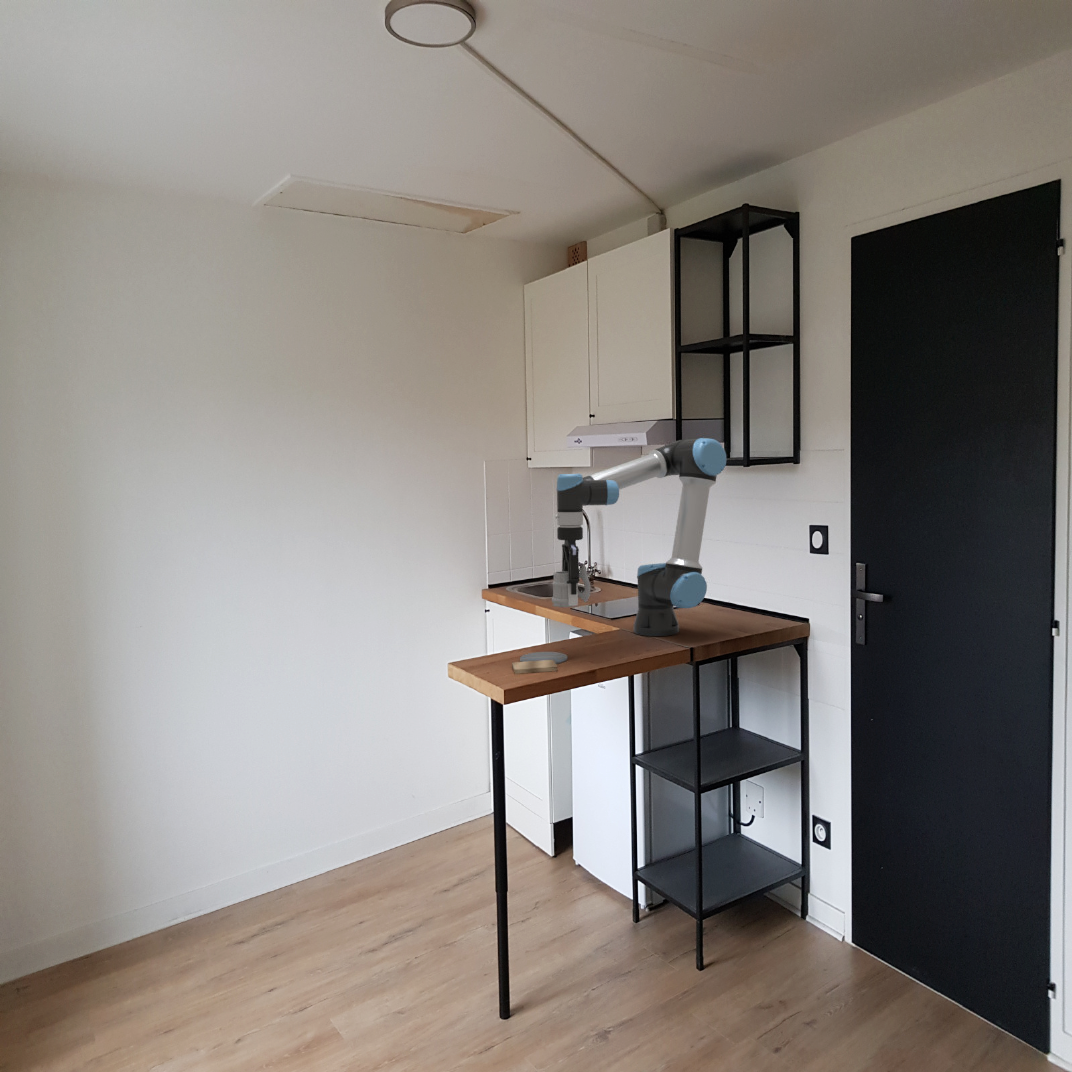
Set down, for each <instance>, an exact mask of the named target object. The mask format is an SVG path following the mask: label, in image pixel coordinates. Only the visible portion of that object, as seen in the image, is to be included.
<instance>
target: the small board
mask: <svg viewBox="0 0 1072 1072" xmlns="http://www.w3.org/2000/svg"><path fill="white" fill-rule="evenodd" d="M511 668H512V670H513V673H514V675H515V674H516V675H517V674H519V675H520V674H530V673H531V674H532V673H544V672H545V673H546V672H548V673H549V672H558V671H559V670H558V669H559V668H558V665H557V664H556V663H555V662H554V660H542V661H527V662H521V661H514V662H511Z"/></svg>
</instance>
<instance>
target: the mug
mask: <svg viewBox="0 0 1072 1072" xmlns="http://www.w3.org/2000/svg"><path fill="white" fill-rule="evenodd" d="M579 579H580V580H581V581H582V582H583V584H584V590H583V591H582V592H581V591H578V599H581V600H582V601H583V602H584V603H587V602H588V600H589V598H591V597H590V596H591V589H592V585H591V583H590V579H589V576H588V573H587V570H586V565H583V566H581V568H579ZM567 581H569V573H568V572H567V571H562V570H559V571H558V570H557V571H555V572H554V573H553V581H552V586H553V589H552V590H553V591H552V597H551V603H552V606H553V607H555V608H573V607H575V606H569V605H568V584H567Z"/></svg>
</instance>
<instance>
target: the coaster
mask: <svg viewBox="0 0 1072 1072" xmlns="http://www.w3.org/2000/svg"><path fill="white" fill-rule="evenodd" d="M542 660H554V662H555V663H556V665H557V664H562V663H565V662H566V661H567V660H568V655H567V654H566V653H562V652H558V651H536V652H529V653H526V654H522V655H521V656H520V657H519V662H527V661H542Z"/></svg>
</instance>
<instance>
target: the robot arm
mask: <svg viewBox="0 0 1072 1072" xmlns="http://www.w3.org/2000/svg"><path fill="white" fill-rule="evenodd" d="M726 465H727V453H726V450H725V448H724V447H723V446H722V444H721V442H719V441H718V440H716V439H714V438H707V437H700V438H692V439H691V438H689V439H679V440H676V441H673V442H670V443H668V444H665V445H663V446H661V447H658V448H656V449H652V450H650V451H649V453H648V454H647V455H644V456H642V457H639V458H636V459H633V460H630V461H627V462H624V463H621V464H619V465H615V466H612V467H609V468H606V469H603V470H601V471H598V472H595V473H592V474H589V475H587V476H583V475H582V474H581V473H561V474H558V475H557V478H556V479H557V481H556V510H557V511H556V515H555V516H554V517H555V519H557V526H558V527H557V529H556V530H557V531H556V532H557V533H556V534H557V535H556V536H557V538H556V539H558V540H559V541H564V543H562V545H561V549H562V551H561V557H562V558H561V559H562V560H561V561H562V562H561V571H567V572H568V573H569V581H567V584H568V605H569V606H574V607H576V606H579V597H578V592H579V585H578V584H579V583H580V580H581V578H579V574H580V565H579V564H580V563H579V561H580V560H579V553H580V549H579V546H577V543H576V541H580V540H583V539H584V537H583V536H584V535H583V534H584V529H583V527H582V526H583V524H584V522H583V521H584V511H583V510H584V509H583V508H584V507H585V506H611V505H615V504H617V502H618V500H619V498H620V490H622V489H626V488H628V487H630V486H633V485H636V484H638V483H642V482H644V481H648V480H650V479H653V478H657V479H662V478H665V477H666V478H667V477H669V476H678V480H680V482H681V483H682V487H681V495H680V501H679V506H678V513H677V520H676V527H675V532H674V537H673V538H674V539H673V546H672V553H671V558H669V559H668V560H667V561H666V562H661V563H650V564H642V565H639V566H638V568H637V574H636V578H637V601H638V602H637V603H638V604H637V605H638V606H637V607H638V608H637V613H636V616H635V619H634V622H633V633H634V634H636V635H639V636H646V637H665V636H666V637H667V636H673V635H676V634H679V633H680V624H679V622H678V618H677V616H676V613H675V610H674V607H675V608H679V609H680V608H681V609H692V608H695V607H697V606H698V605H699V604H700V603H701V602H703V600H704V598H705V597H706V594H707V590H708V584H707V581H706V578H705V577H704V575H703V574H702V572H703V567H702V565H701V563H700V561H699V560H700V555H701V547H702V541H703V534H704V530H705V529H704V528H705V521H706V515H707V514H706V513H707V507H708V502H709V494H710V489H711V487H713V485H715V484H716V482H717V476H718V475H720V474H721V473H722V471H724V470H725V468H726ZM583 506H584V507H583Z"/></svg>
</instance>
